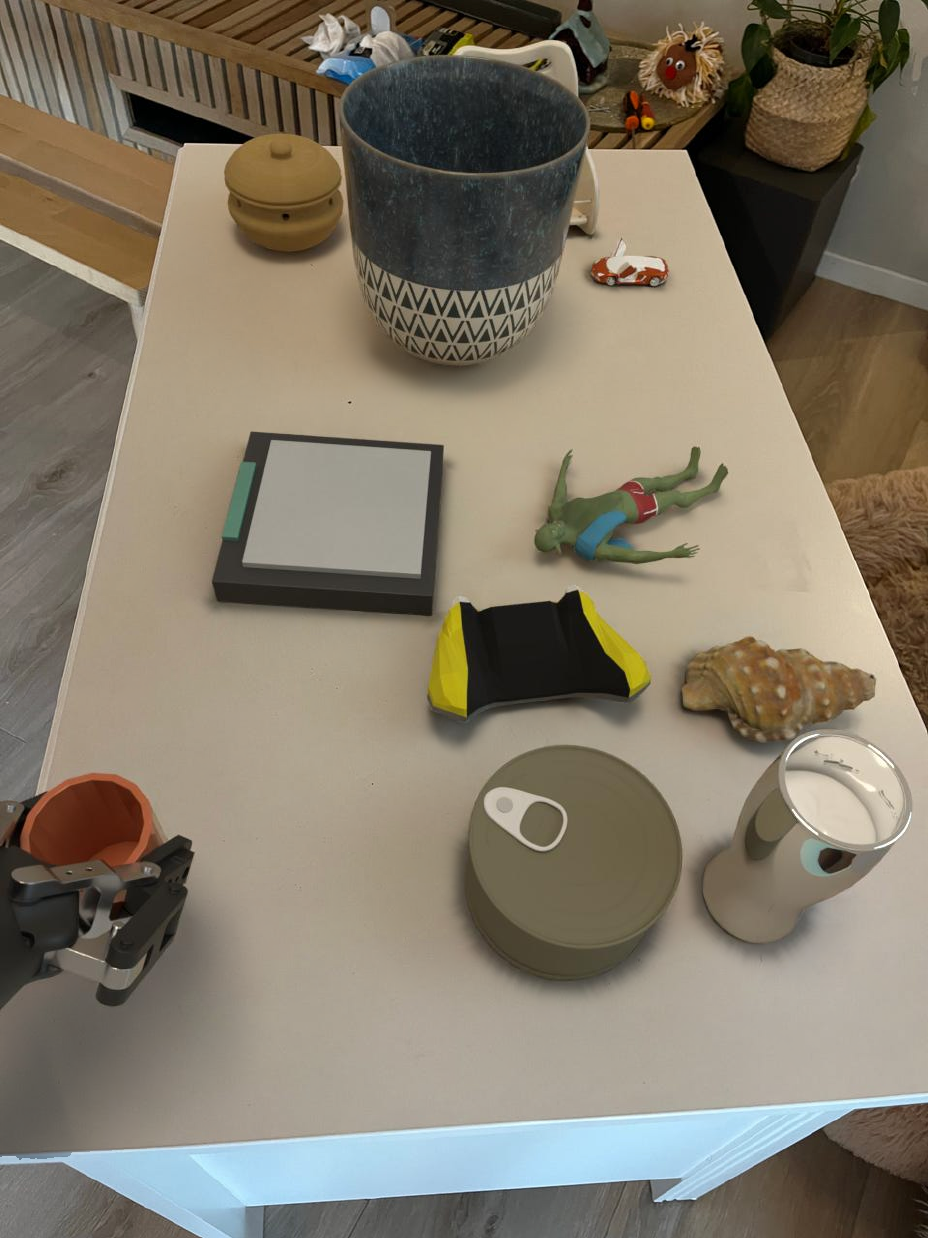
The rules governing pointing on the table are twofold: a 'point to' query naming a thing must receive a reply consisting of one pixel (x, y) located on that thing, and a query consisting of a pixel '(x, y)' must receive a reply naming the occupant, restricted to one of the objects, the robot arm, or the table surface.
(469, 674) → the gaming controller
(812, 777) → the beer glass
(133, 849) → the cup
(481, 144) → the planter
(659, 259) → the toy car
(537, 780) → the can
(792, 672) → the seashell
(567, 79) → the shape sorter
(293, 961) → the table surface
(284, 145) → the pot
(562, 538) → the figurine
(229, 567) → the scale
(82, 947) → the robot arm
